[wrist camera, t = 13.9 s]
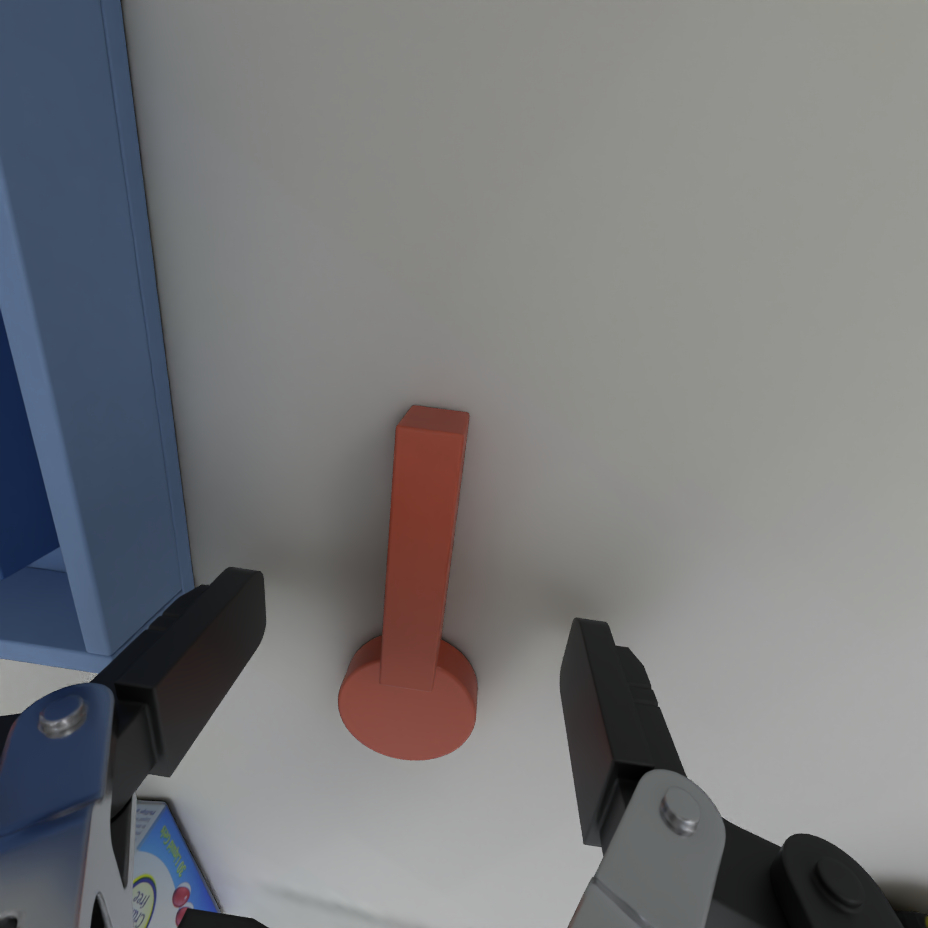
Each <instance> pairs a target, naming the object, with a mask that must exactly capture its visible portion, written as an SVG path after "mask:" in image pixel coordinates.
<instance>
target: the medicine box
mask: <svg viewBox="0 0 928 928" xmlns="http://www.w3.org/2000/svg"><path fill="white" fill-rule="evenodd" d="M187 908H191V909H198V910H204V911H210V912H216V913H220V909H219V907H218V905H217V903H216V901H215V899H214V897H213V896H212V894H211V891H210V889H209V888H208V886H207V884H206V881H205V879H204V878H203V875H202V873H201V872H200V870H199V868H198V866H197V864H196V862H195V860H194V858H193V857H192V855H191V853H190V851H189V849H188V847H187V845H186V842H185V840H184V838H183V836H182V834H181V832H180V830H179V828H178V826H177V824H176V822H175V820H174V818H173V816H172V814H171V812H170V810H169V808H168V806H167V804H166V803H165V802H160V801H142V800H137V807H136V830H135V852H134V875H133V921H134V928H177V927H178V925H179V924H180V922H181V920H182V918H183V916H184V914H185V912H186V910H187Z"/></svg>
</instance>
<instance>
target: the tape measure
mask: <svg viewBox="0 0 928 928" xmlns="http://www.w3.org/2000/svg"><path fill="white" fill-rule="evenodd" d="M894 912H895V914H896V915H897V917H898V918H899V920H900V922H901V923H902V925H903V927H904V928H928V915H927V914H921V913H918V912H908V911H894Z"/></svg>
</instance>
